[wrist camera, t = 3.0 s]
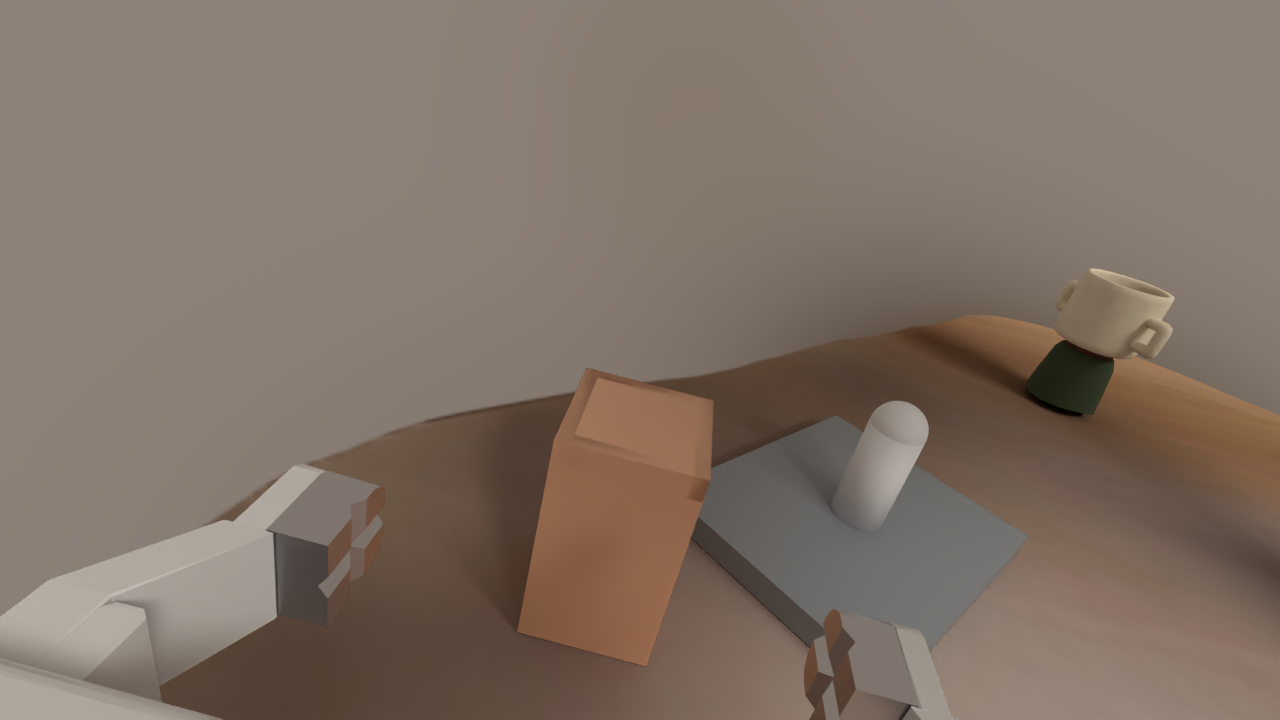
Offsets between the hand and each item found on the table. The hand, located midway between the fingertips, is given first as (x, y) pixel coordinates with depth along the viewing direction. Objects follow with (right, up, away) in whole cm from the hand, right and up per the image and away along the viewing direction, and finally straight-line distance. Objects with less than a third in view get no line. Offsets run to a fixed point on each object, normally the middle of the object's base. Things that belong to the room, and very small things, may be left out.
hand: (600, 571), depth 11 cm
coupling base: (+13, -6, +26) cm, 30 cm away
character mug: (+42, -1, +51) cm, 66 cm away
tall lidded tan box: (-1, -7, +17) cm, 19 cm away
